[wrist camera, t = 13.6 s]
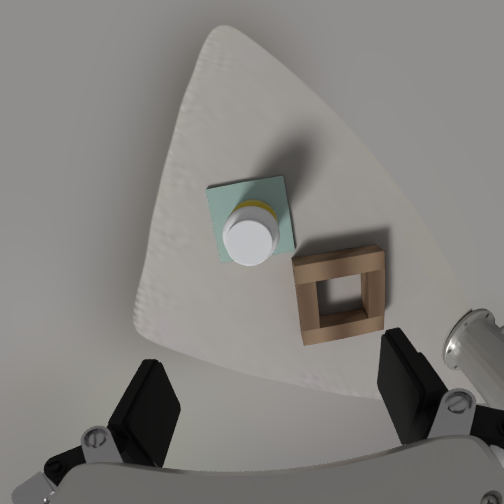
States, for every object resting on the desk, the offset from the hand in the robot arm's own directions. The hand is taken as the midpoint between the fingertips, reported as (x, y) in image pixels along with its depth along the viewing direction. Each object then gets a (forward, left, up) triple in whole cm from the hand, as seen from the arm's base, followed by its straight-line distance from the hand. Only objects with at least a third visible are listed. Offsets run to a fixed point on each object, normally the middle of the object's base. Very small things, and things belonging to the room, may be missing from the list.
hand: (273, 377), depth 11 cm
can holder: (-8, +9, -24) cm, 27 cm away
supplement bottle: (+1, -2, -24) cm, 24 cm away
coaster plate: (+1, -2, -24) cm, 24 cm away
